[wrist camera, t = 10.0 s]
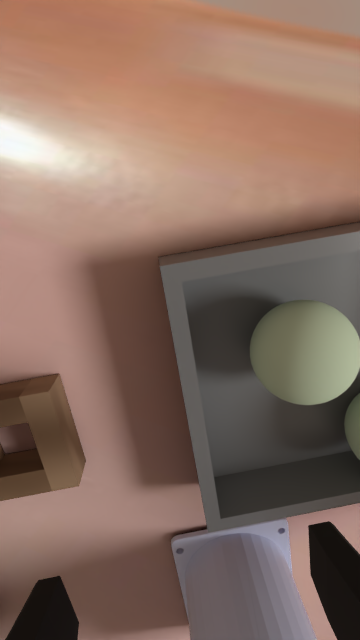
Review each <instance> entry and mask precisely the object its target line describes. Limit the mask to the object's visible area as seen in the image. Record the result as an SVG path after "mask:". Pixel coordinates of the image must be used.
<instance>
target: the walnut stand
mask: <svg viewBox="0 0 360 640" xmlns="http://www.w3.org/2000/svg"><path fill="white" fill-rule="evenodd" d="M27 422H28V424H29V427H30V430H31V433H32V436H33V438H34V441H35V444H36V447H37V449H32V450H27V451H22V452H17V453H11V454H6V455H5V454H4V451H3V449H2V446H1V444H0V501H3V500H9V499H14V498H19V497H24V496H29V495H35V494H40V493H45V492H50V491H55V490H61V489H66V488H71V487H76V486H79V484H80V480H81V477H82V473H83V470H84V466H85V462H86V460H85V456H84V453H83V450H82V447H81V443H80V440H79V437H78V433H77V430H76V427H75V423H74V420H73V417H72V414H71V410H70V407H69V404H68V400H67V397H66V394H65V391H64V387H63V384H62V381H61V377H60V374H55V375H50V376H44V377H39V378H33V379H28V380H22V381H17V382H11V383H6V384H0V428H1V427H6V426H11V425H17V424H22V423H27Z"/></svg>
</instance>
